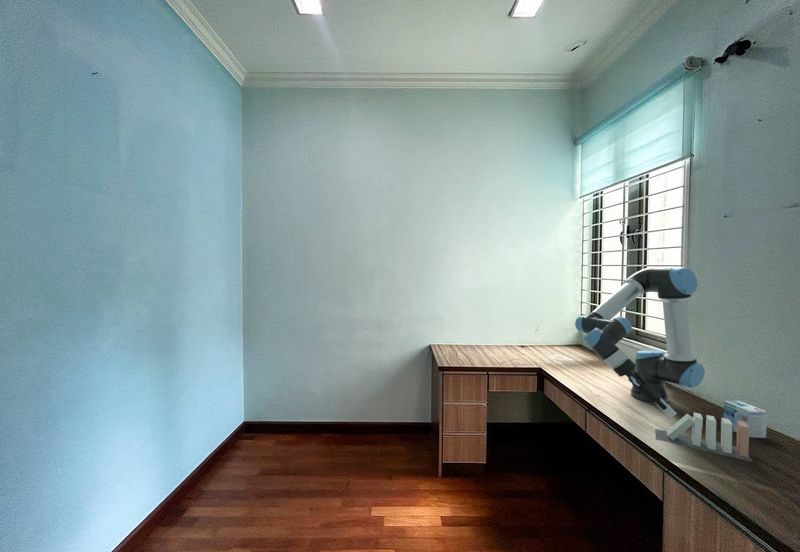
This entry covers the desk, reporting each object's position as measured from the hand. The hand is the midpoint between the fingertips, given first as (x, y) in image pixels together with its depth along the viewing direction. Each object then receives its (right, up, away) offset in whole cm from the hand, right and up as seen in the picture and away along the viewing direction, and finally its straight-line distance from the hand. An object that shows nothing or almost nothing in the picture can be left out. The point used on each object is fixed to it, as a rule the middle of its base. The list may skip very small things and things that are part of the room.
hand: (673, 415), depth 125 cm
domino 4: (+12, -9, -8) cm, 17 cm away
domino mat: (+6, -9, -4) cm, 12 cm away
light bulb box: (+32, -9, +6) cm, 34 cm away
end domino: (+15, -9, -10) cm, 20 cm away
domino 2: (+5, -8, -3) cm, 10 cm away
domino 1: (-1, -8, +1) cm, 8 cm away
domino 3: (+9, -8, -6) cm, 13 cm away
